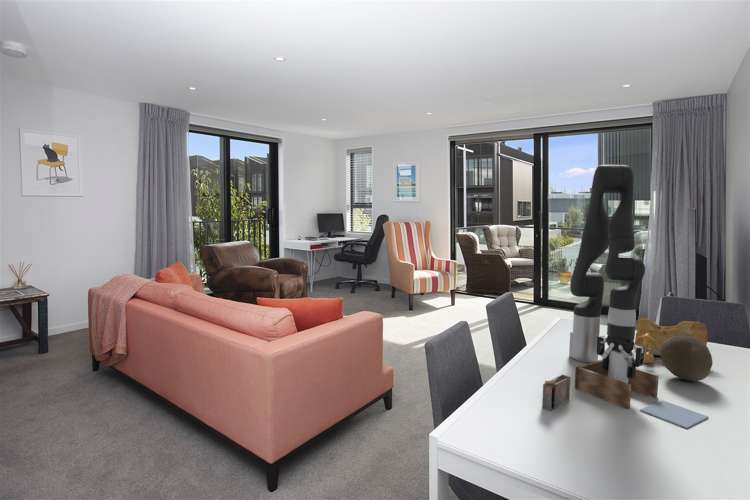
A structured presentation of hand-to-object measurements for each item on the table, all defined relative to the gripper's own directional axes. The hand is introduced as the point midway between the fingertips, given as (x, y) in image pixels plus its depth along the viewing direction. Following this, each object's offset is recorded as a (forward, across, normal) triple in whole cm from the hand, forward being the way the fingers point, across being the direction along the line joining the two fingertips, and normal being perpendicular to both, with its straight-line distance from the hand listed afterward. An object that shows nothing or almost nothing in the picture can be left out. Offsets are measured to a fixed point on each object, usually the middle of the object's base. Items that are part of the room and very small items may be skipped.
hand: (618, 373), depth 139 cm
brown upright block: (+7, -5, -23) cm, 24 cm away
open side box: (+6, -1, 0) cm, 6 cm away
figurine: (+7, -10, +35) cm, 37 cm away
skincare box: (+5, 0, 0) cm, 5 cm away
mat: (+6, +16, 0) cm, 17 cm away
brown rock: (+7, +5, +30) cm, 31 cm away
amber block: (+7, -11, +54) cm, 55 cm away
